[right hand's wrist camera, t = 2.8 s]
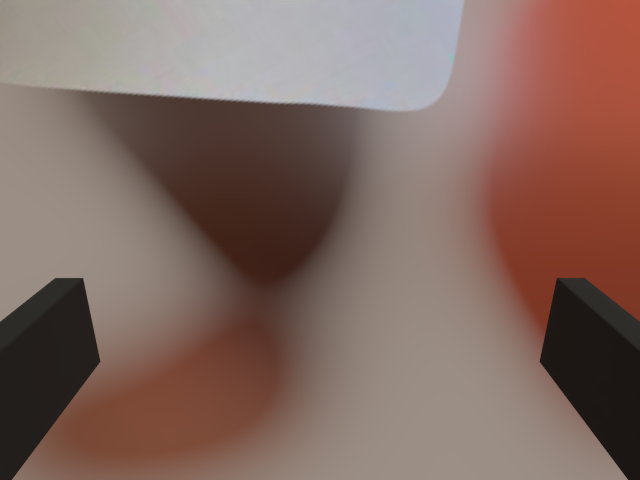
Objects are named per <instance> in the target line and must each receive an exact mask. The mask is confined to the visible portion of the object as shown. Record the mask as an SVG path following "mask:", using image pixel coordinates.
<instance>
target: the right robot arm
mask: <svg viewBox="0 0 640 480" xmlns="http://www.w3.org/2000/svg"><path fill="white" fill-rule="evenodd" d="M99 363H100V358H99V353H98V348H97V344H96V339H95V334H94V329H93V324H92V319H91V314H90V310H89V305H88V300H87V295H86V290H85V285H84V281H83V278H55V279H54V280H52V281H51V282H50V283H49V284H47V285H46V286H45V287H44V288H42V289H41V290H40V291H39V292H37V293H36V294H35V295H33V296H32V297H31V298H30V299H28V300H27V301H26V302H25V303H23V304H22V305H21V306H20V307H18V308H17V309H16V310H15V311H13V312H12V313H11V314H10V315H8V316H7V317H6V318H4V319H3V320H2V321H1V322H0V480H12V479H13V477H14V476H15V475H16V473H17V472H18V471H19V469H20V468H21V467H22V465H23V464H24V463H25V461H26V460H27V459H28V457H29V456H30V455H31V453H32V452H33V451H34V449H35V448H36V447H37V445H38V444H39V443H40V441H41V440H42V439H43V437H44V436H45V435H46V433H47V432H48V431H49V429H50V428H51V427H52V425H53V424H54V423H55V421H56V420H57V419H58V417H59V416H60V415H61V413H62V412H63V411H64V409H65V408H66V407H67V405H68V404H69V403H70V401H71V400H72V399H73V397H74V396H75V395H76V393H77V392H78V391H79V389H80V388H81V387H82V385H83V384H84V383H85V381H86V380H87V379H88V377H89V376H90V375H91V373H92V372H93V371H94V369H95V368H96V367H97V365H98V364H99ZM540 363H541V364H542V365H543V367H544V368H545V369H546V370H547V372H548V373H549V375H550V376H551V377H552V379H553V380H554V381H555V383H556V384H557V385H558V387H559V388H560V389H561V391H562V392H563V393H564V395H565V396H566V397H567V399H568V400H569V401H570V403H571V404H572V405H573V407H574V408H575V409H576V411H577V412H578V413H579V415H580V416H581V417H582V419H583V420H584V421H585V423H586V424H587V425H588V427H589V428H590V429H591V431H592V432H593V433H594V435H595V436H596V437H597V439H598V440H599V441H600V443H601V444H602V445H603V447H604V448H605V449H606V451H607V452H608V453H609V455H610V456H611V457H612V459H613V460H614V461H615V463H616V464H617V465H618V467H619V468H620V469H621V471H622V472H623V473H624V475H625V476H626V477H627V479H628V480H640V322H639V321H638V320H637V319H635V318H634V317H633V316H632V315H630V314H629V313H628V312H627V311H625V310H624V309H623V308H622V307H620V306H619V305H618V304H617V303H615V302H614V301H613V300H611V299H610V298H609V297H608V296H606V295H605V294H604V293H603V292H601V291H600V290H599V289H598V288H596V287H595V286H594V285H593V284H591V283H590V282H589V281H588V280H586V279H585V278H557V281H556V285H555V290H554V295H553V300H552V305H551V310H550V314H549V319H548V324H547V329H546V334H545V339H544V344H543V348H542V353H541V358H540Z"/></svg>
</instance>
